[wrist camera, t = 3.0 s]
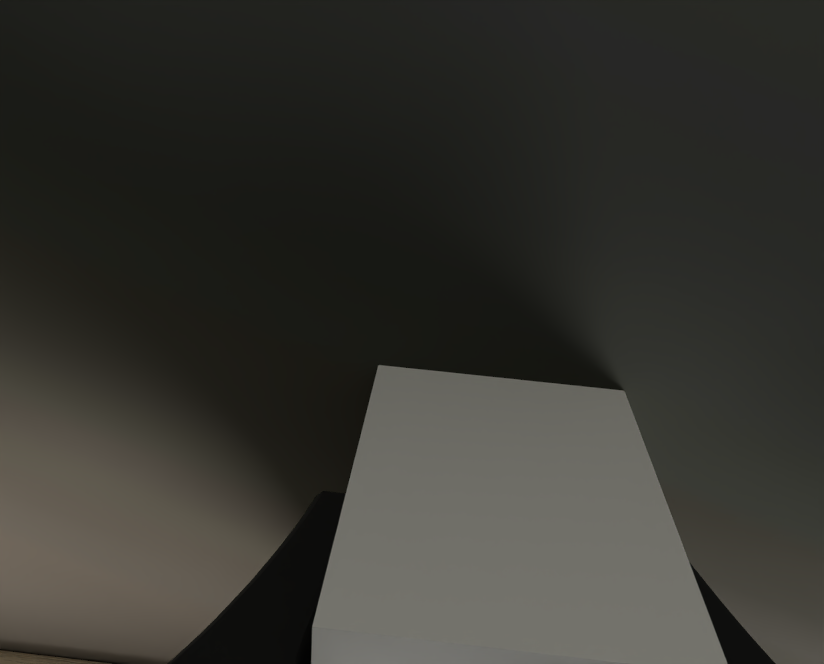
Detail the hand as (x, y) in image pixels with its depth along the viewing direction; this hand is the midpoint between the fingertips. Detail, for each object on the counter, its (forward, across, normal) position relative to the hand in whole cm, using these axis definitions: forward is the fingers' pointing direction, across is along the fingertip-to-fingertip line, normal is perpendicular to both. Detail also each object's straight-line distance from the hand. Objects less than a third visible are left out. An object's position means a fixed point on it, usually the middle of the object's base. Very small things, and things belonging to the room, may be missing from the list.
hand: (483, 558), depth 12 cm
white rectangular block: (+2, 0, 0) cm, 2 cm away
